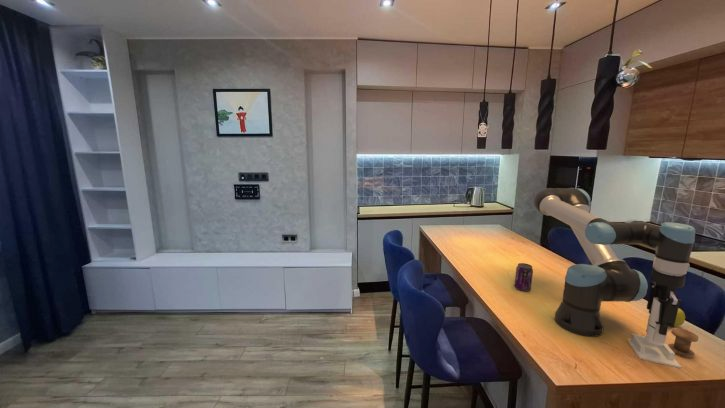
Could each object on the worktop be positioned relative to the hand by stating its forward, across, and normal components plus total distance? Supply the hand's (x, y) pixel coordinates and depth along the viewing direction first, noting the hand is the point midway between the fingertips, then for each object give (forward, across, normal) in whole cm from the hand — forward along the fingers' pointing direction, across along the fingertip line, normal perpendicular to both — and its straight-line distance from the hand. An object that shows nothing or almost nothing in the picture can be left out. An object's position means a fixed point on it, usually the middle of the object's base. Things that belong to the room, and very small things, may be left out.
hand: (655, 337), depth 97 cm
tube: (+2, 0, 0) cm, 2 cm away
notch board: (+6, 0, 0) cm, 6 cm away
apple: (+6, +24, -13) cm, 28 cm away
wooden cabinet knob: (+6, +5, -9) cm, 12 cm away
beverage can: (+6, +33, +36) cm, 50 cm away
